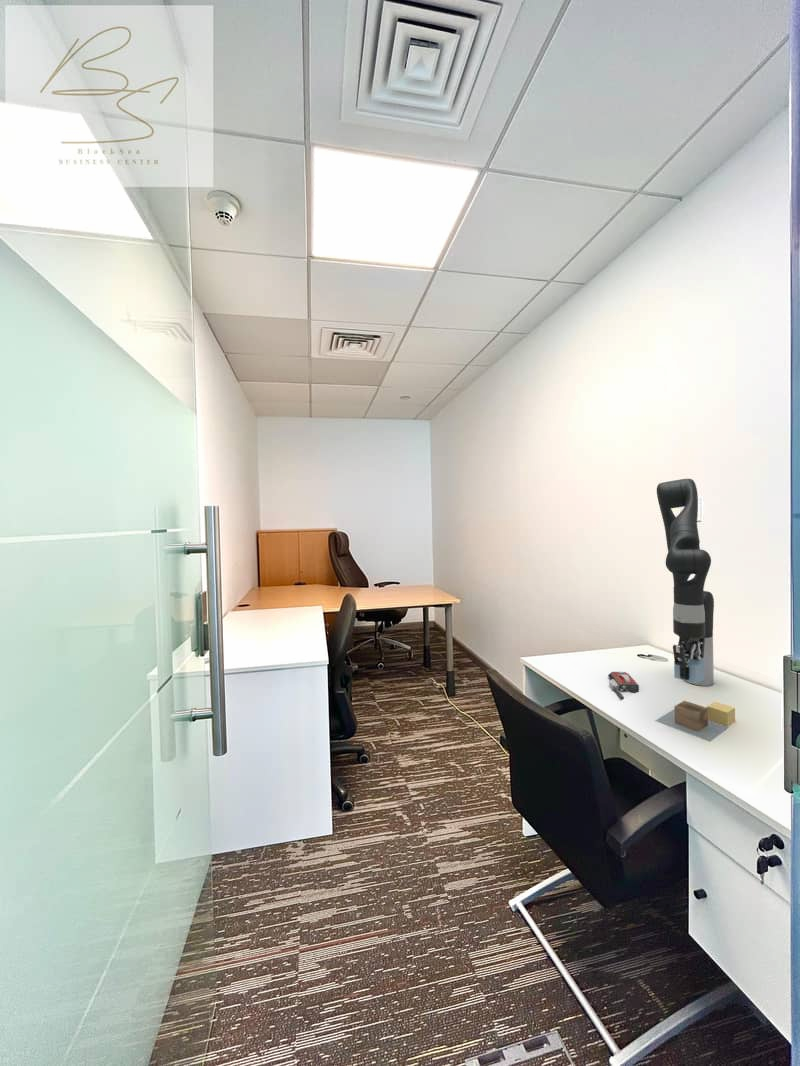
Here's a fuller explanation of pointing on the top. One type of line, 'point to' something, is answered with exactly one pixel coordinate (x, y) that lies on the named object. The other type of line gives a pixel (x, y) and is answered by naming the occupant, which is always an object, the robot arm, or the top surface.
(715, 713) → the ochre brick
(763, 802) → the top surface
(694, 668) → the blue brick
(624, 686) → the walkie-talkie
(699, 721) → the walnut brick
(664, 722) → the slate board
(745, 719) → the top surface
